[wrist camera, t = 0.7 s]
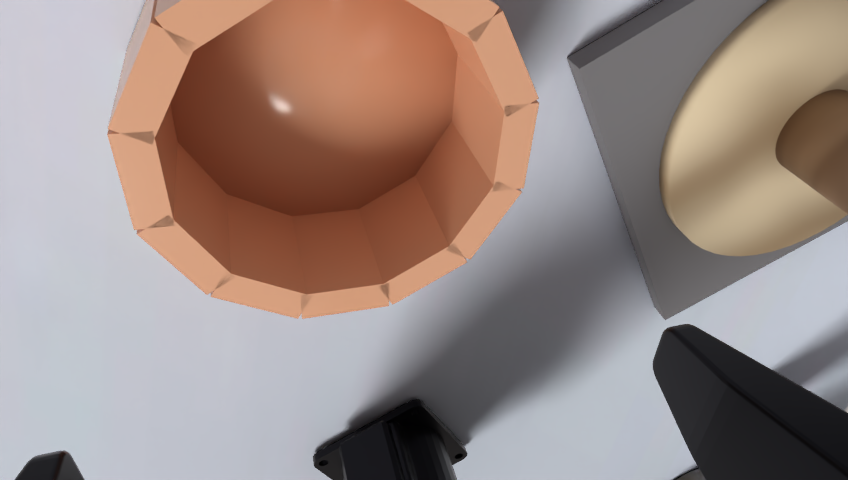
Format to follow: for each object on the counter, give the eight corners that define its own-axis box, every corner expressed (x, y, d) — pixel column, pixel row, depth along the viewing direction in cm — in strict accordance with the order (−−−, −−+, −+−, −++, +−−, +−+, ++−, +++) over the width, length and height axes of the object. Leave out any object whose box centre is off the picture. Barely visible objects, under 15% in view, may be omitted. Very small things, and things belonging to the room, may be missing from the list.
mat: (942, 149, 32) (960, 159, 31) (654, 306, 33) (665, 320, 32) (990, -195, 21) (1019, -192, 20) (566, 57, 23) (579, 68, 22)
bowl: (519, 125, 24) (579, 198, 20) (274, 269, 25) (287, 364, 21) (380, -185, 17) (432, -163, 13) (44, 35, 18) (1, 117, 14)
